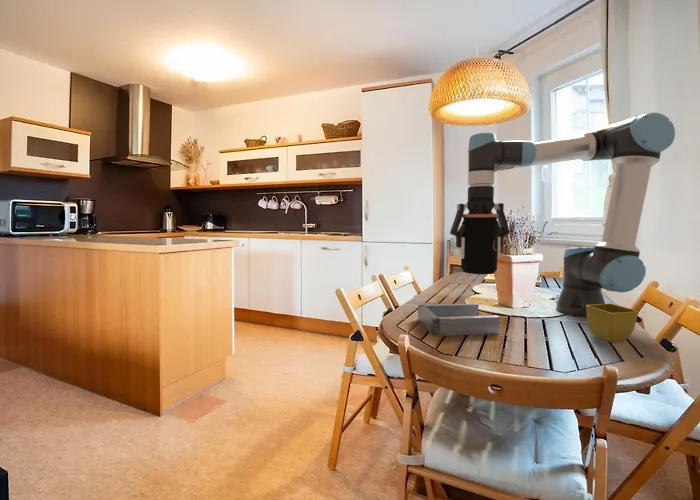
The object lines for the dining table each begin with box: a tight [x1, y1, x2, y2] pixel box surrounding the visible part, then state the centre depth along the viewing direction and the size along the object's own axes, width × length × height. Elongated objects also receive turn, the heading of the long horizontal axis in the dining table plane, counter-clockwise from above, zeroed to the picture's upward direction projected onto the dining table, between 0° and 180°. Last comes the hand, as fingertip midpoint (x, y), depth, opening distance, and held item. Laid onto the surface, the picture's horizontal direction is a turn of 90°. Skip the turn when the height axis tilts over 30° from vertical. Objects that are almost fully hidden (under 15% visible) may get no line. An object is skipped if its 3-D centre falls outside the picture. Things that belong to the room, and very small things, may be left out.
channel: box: [417, 302, 501, 337], centre depth 115 cm, size 20×17×5 cm
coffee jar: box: [460, 213, 499, 275], centre depth 114 cm, size 11×11×18 cm
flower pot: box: [586, 302, 639, 343], centre depth 102 cm, size 9×9×9 cm
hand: (479, 257), depth 114 cm, fingers closed on coffee jar, 11 cm apart
